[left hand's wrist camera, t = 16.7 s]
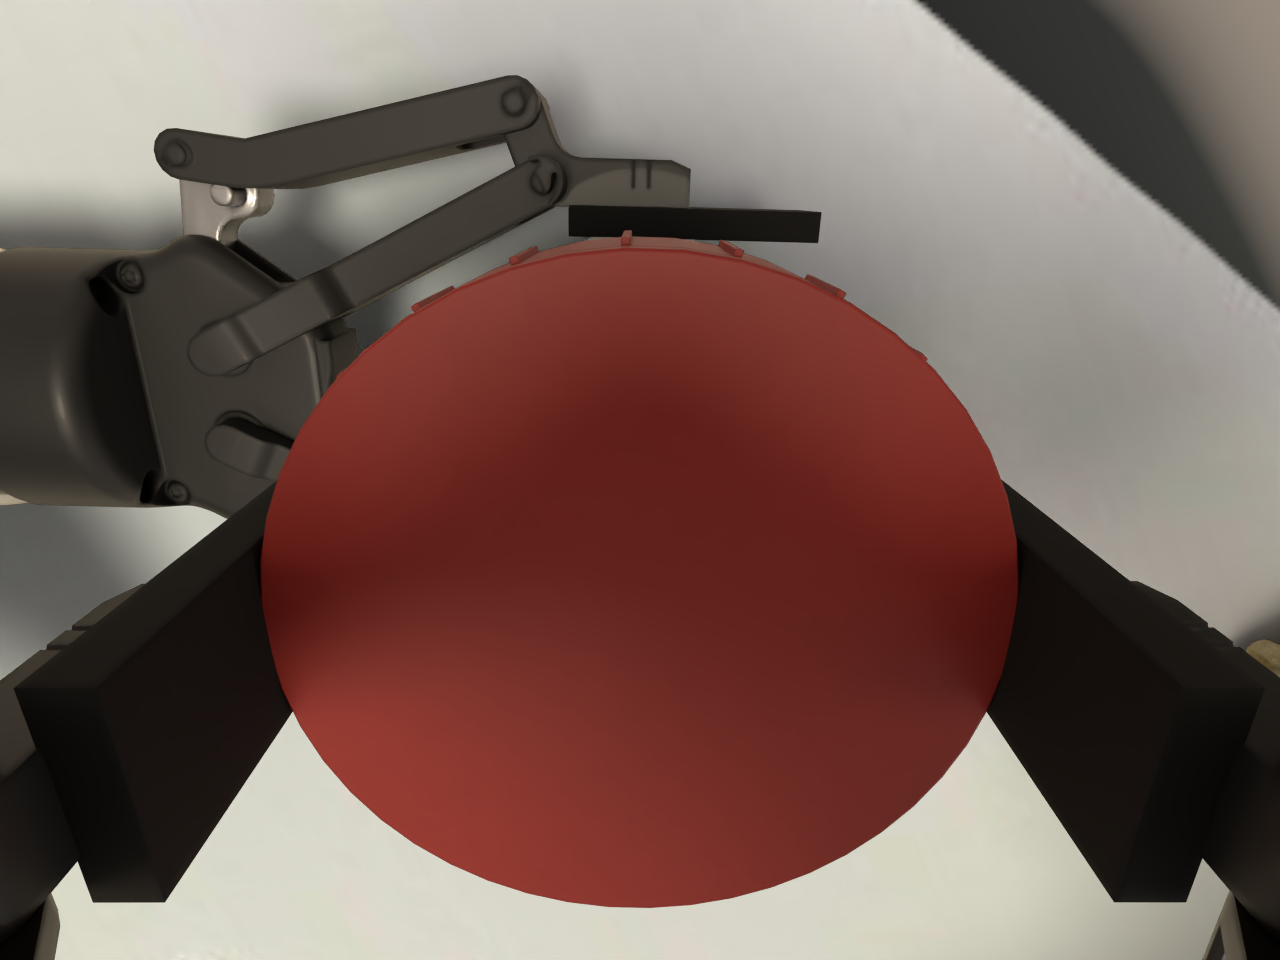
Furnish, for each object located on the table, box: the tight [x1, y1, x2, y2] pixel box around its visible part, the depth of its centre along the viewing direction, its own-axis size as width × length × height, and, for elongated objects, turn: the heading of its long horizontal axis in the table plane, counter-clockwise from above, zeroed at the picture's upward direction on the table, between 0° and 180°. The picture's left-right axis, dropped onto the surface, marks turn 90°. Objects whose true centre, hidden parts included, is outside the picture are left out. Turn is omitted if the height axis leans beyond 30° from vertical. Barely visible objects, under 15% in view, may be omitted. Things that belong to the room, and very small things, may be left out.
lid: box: [260, 230, 1019, 908], centre depth 11 cm, size 10×10×2 cm
